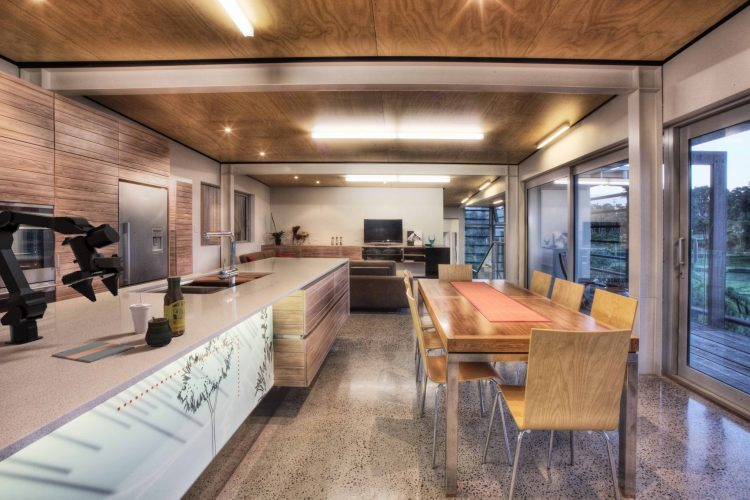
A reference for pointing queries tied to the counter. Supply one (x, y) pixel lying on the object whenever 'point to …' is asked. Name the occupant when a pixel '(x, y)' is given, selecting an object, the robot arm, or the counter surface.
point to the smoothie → (140, 315)
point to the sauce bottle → (175, 306)
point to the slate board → (93, 351)
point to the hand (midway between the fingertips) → (105, 298)
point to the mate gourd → (158, 332)
